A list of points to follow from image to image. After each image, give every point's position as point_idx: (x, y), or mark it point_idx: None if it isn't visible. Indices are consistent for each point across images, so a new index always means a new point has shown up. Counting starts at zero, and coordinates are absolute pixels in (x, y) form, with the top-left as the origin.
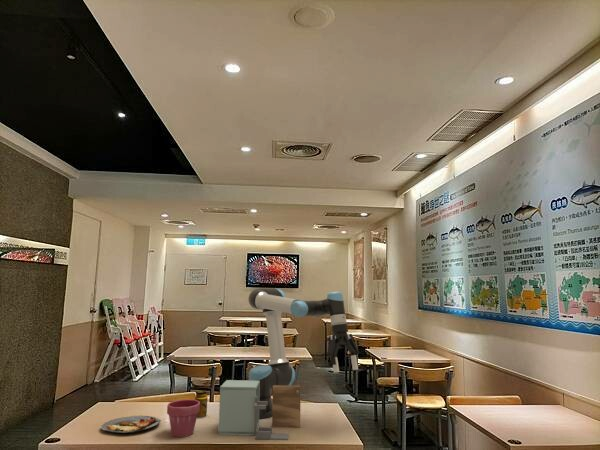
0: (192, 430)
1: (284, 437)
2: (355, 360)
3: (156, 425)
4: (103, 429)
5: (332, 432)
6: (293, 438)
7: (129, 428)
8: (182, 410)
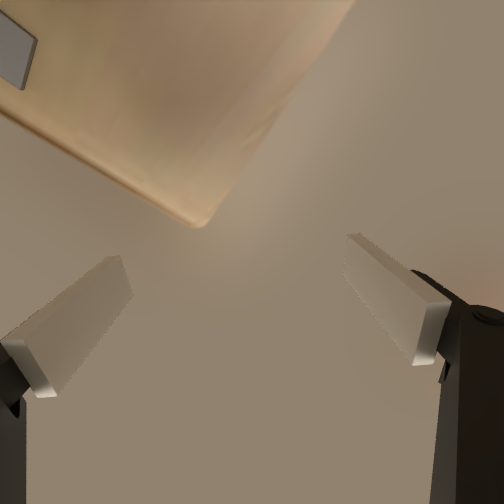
0: None
1: (7, 70)
2: (378, 318)
3: None
4: None
5: (200, 128)
6: (47, 88)
7: None
8: None
